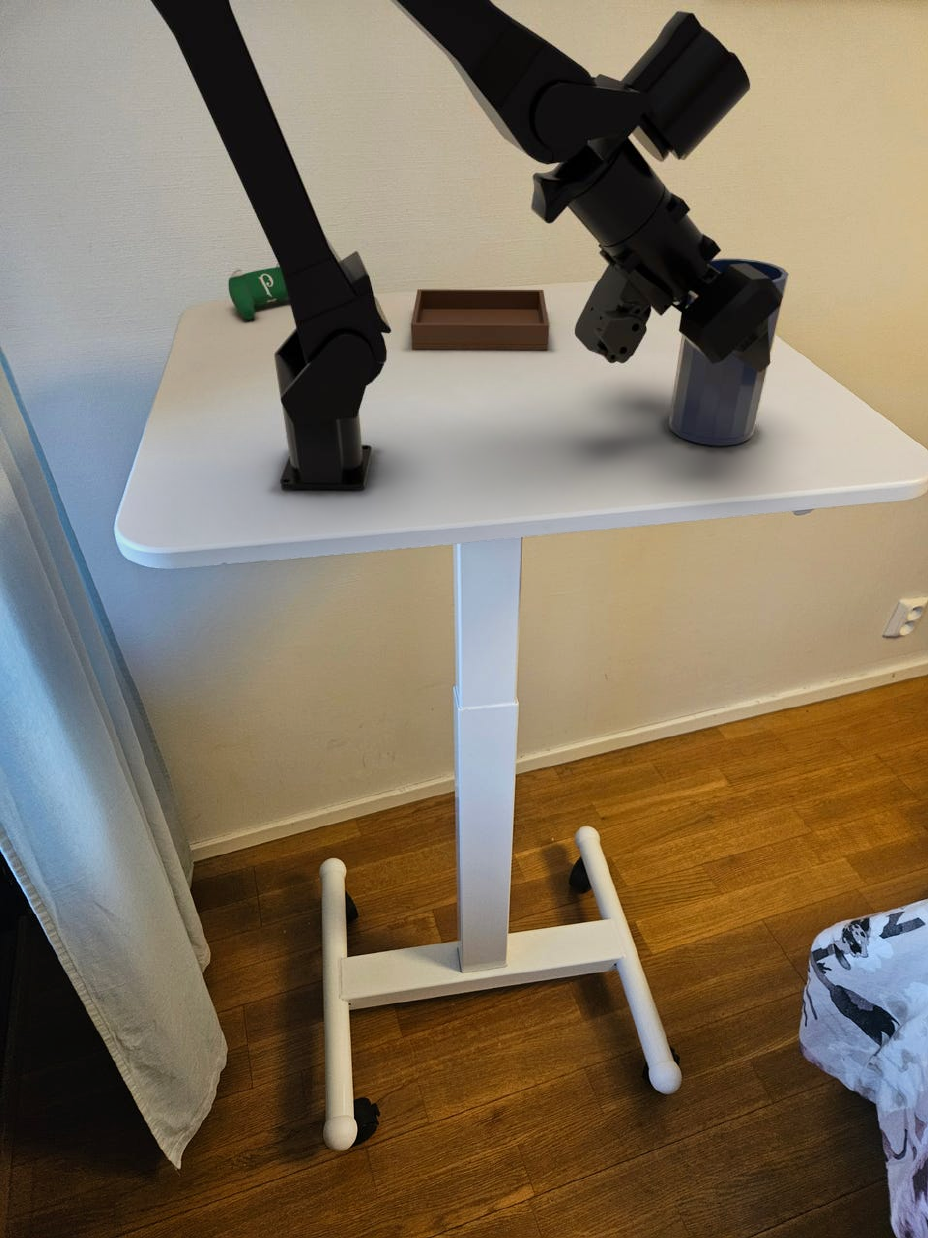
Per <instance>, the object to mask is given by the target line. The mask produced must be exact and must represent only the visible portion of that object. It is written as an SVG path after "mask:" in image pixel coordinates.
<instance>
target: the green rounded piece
mask: <svg viewBox="0 0 928 1238" xmlns="http://www.w3.org/2000/svg"><path fill="white" fill-rule="evenodd" d="M228 294H229V296H230V299H231V302H232V303H233V306H234V307H235V309H236V310H237V312H238V313H239V314H240V315H241V316H242V317H243V318H244V319H245V320H248V321H250V320H252V319H255V315H256V314H255V313H256V310H255V308H259V307H261V306H262V305H263V304H268V303H273V302H276V303H282V302H285V300H286V299H289V298H288V294H287V290H286V286H285V283H284V279H283V275H282V271H281V268H280V266H279V263H278V262H277V263H276V265H275V267H270V268H269V267H268V268H265V269H259V270H254V271H249V272H246V273H243V272H242V269H241V268H239V267H238V268H235V269H234V271H232V273H231V275H230V276H229V278H228Z"/></svg>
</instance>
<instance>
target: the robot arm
mask: <svg viewBox="0 0 928 1238" xmlns="http://www.w3.org/2000/svg"><path fill="white" fill-rule="evenodd" d="M150 2H151V3H152V5H153V6H154V8H155V9H156V11H157V12H158V14H159V15H160V16H161V18H162V20H163V21H164V22H165V24H166V25H167V27H168V28H169V30H170V31H171V33H172V35H173V37H174V39H175V40H176V41H175V42H176V43H177V46H178V47H179V49H180V53H181V54H182V56H183V59H184V60H185V63H186V65H187V66H188V69H189V71H190V73H191V76H192V78H193V80H194V82H195V85H196V86H197V89H198V90H199V93H200V96H201V97H202V100H203V102H204V104H205V106H206V108H207V110H208V113H209V115H210V118H211V119H212V122H213V124H214V126H215V128H216V131H217V132H218V134H219V137H220V139H221V141H222V143H223V146H224V147H225V150H226V152H227V154H228V156H229V159H230V161H231V163H232V165H233V168H234V170H235V172H236V174H237V176H238V178H239V181H240V183H241V185H242V187H243V189H244V192H245V194H246V196H247V198H248V200H249V202H250V204H251V206H252V209H253V211H254V214H255V215H256V218H257V220H258V223H259V224H260V226H261V228H262V231H263V233H264V235H265V237H266V239H267V242H268V244H269V246H270V248H271V250H272V253H273V254H274V257H275V259H276V261H277V263H279V266H280V268H281V271H282V275H283V279H284V283H285V286H286V290H287V294H288V298H287V299H288V301H289V306H290V309H291V313H292V317H293V321H294V324H295V329H293V331H292V332H291V333H290V335H289V336H288V337H286V339H285V340H284V341H283V343H282V344H281V345H280V346H279V347H278V349H277V350H276V351H275V352H274V356H273V358H274V364H275V371H276V377H277V378H276V379H277V385H278V390H279V398H280V403H281V406H282V407H281V408H282V414H283V420H284V421H283V422H284V429H285V433H286V441H287V448H288V455H289V456H288V458H287V462H286V464H285V467H284V470H283V473H282V475H281V477H280V480H279V484H280V488H282V489H285V490H363V489H364V488H365V487H366V484H367V478H368V473H369V469H370V464H371V460H372V455H373V446H371V445H370V444H363V439H362V428H361V417H360V409H361V405H362V402H363V399H364V395H365V392H366V388H367V386H369V385H370V384H372V383H373V382H374V381H375V380H376V379H377V377H379V375H380V374H381V372H382V370H383V368H384V365H385V363H387V358H388V357H387V356H388V349H387V346H386V341H385V338H384V335H383V334H391V332H392V329H391V326H390V324H389V321H388V320H387V318H386V315H385V313H384V310H383V309H382V306H381V304H380V302H379V300H378V298H377V297H376V296H375V294H374V289H373V285H372V281H371V276H370V275H369V272H368V270H367V268H366V266H365V264H364V261H363V260H362V257H361V255H360V253H359V251H358V250H357V251H356V250H355V251H353V252H352V253H350V254H349V255H348V256H346V257H344V258H343V259H342V258H341V257H340V255H339V253H338V252H337V251H336V250H335V248H334V247H333V245H332V243H331V242H330V241H329V239H328V238H327V236H326V234H325V231H324V229H323V227H322V224H321V223H320V220H319V217H318V215H317V212H316V209H315V208H314V205H313V203H312V201H311V198H310V195H309V193H308V191H307V187H306V185H305V183H304V181H303V179H302V176H301V174H300V171H299V169H298V166H297V164H296V161H295V159H294V157H293V155H292V152H291V150H290V146H289V145H288V144H289V143H288V142H287V139H286V138H285V134H284V132H283V130H282V128H281V124H280V123H279V121H278V118H277V116H276V113H275V111H274V107H273V106H272V104H271V101H270V98H269V96H268V93H267V91H266V88H265V86H264V84H263V81H262V79H261V77H260V74H259V72H258V69H257V68H256V65H255V62H254V59H253V57H252V55H251V53H250V50H249V47H248V45H247V42H246V40H245V37H244V35H243V33H242V30H241V28H240V25H239V23H238V21H237V19H236V15H235V14H234V12H233V11H234V10H233V9H232V6H231V1H230V0H150ZM390 2H391V3H392V4H394V6H395V7H396V8H398V9H399V11H400V12H402V13H403V15H404V16H405V17H407V19H409V20H410V22H412V24H414V25H415V26H416V28H418V29H419V30H420V31H421V33H423V34H424V35H425V36H426V37H427V38H428V39H429V40H430V41H431V42H432V43H433V44H434V45H435V46H436V47H437V48H438V49H439V50H440V51H441V52H442V53H443V54H444V55H445V56H446V57H447V59H448V60H449V61H450V63H451V64H452V66H453V67H454V69H455V70H456V71H457V73H458V74H459V76H460V78H461V79H462V81H463V82H464V84H465V85H466V87H467V89H468V91H469V93H470V94H471V95H472V97H473V98H474V99H475V101H476V102H477V104H478V106H479V107H480V108H481V109H482V111H483V112H484V114H485V115H486V117H487V118H488V119H489V121H490V122H491V123H492V125H493V126H494V127H495V129H496V130H497V132H498V133H499V134H500V135H501V137H502V138H503V139H504V140H505V141H507V142H508V143H510V144H511V145H513V146H514V147H515V148H517V149H519V150H520V152H522V153H524V154H525V155H527V156H528V157H530V158H531V159H533V160H534V161H536V162H537V163H540V164H544V165H546V166H548V165H554V164H557V165H556V166H555V167H554V168H553V169H552V170H550V171H547V172H535V173H533V175H532V182H533V191H532V192H533V193H532V199H531V205H530V209H531V211H532V212H533V213H534V214H536V216H538V217H539V218H540V219H541V220H543V222H545V223H546V224H549V225H551V224H553V223H554V222H556V221H557V219H558V217H559V216H560V215H562V213H563V212H564V211H565V210H566V209H567V208H568V210H570V211H571V213H573V215H574V216H575V217H576V218H577V219H578V221H579V222H580V223H581V224H582V226H583V227H585V229H586V230H587V231H588V232H589V233H590V234H591V236H592V237H593V238H594V239H595V240H596V241H597V243H598V245H597V246H598V247H599V248H600V250H599V252H598V254H599V255H600V256H601V257H602V258H603V259H604V261H605V262H606V263H607V264H608V265H607V267H606V268H605V270H604V272H603V273H602V275H601V277H600V278H599V279H598V281H596V283H595V285H594V286H593V289H592V291H591V293H590V295H589V297H588V298H587V301H586V303H585V304H584V307H583V309H582V311H581V313H580V315H579V316H578V319H577V321H576V323H575V327H574V335H575V337H576V338H577V339H578V340H579V342H580V343H581V344H582V345H583V347H585V348H586V349H587V350H588V351H589V352H592V353H595V354H596V355H600V356H602V357H604V359H605V360H606V361H607V362H608V363H610V364H615V363H619V364H625V363H627V362H628V361H629V360H630V358H631V357H633V356H634V355H635V354H636V352H637V350H638V348H639V347H640V344H641V342H642V340H643V339H644V336H645V335H646V333H647V330H648V327H647V323H648V321H649V319H650V317H651V313H652V309H653V310H654V312H656V314H658V315H659V316H660V317H662V316H663V315H664V314H665V313H666V312H668V310H669V309H670V308H671V307H673V308H674V309H676V310H677V311H678V312H680V321H679V326H678V332H679V333H680V334H681V336H682V335H683V336H684V337H685V339H686V340H687V341H688V342H689V343H690V344H691V345H692V346H693V347H694V348H695V349H696V350H697V351H698V352H699V353H700V354H702V355H703V356H704V357H705V358H706V359H707V360H709V361H710V362H711V363H712V364H714V363H718V362H721V361H723V360H724V359H725V358H726V357H727V356H728V355H729V354H730V353H732V354H733V355H734V356H736V357H737V358H739V359H740V360H742V361H743V362H744V363H746V364H747V365H749V366H750V367H751V368H753V369H754V370H756V371H757V372H759V373H760V372H762V371H763V370H764V369H765V368H767V367H768V368H769V366H770V364H771V357H770V347H769V332H768V317H769V316H770V315H771V314H772V313H773V312H774V311H775V310H776V309H777V308H778V307H779V306H780V305H781V302H782V299H783V300H784V298H783V295H782V294H781V292H780V291H779V290H778V288H777V287H776V285H775V284H774V283H773V281H772V280H771V279H770V278H769V277H768V276H766V275H764V274H763V273H761V272H760V271H758V270H756V269H755V268H753V267H752V266H750V265H748V264H747V263H744V264H732V265H729V266H728V267H727V268H726V269H725V270H724V271H723V272H722V273H720V272H719V271H717V270H716V269H714V268H713V267H711V266H710V265H708V263H709V262H710V261H711V260H712V259H715V257H716V256H717V255H719V253H721V251H722V249H721V247H720V246H719V244H717V242H716V241H715V240H714V239H713V238H711V237H709V236H708V235H706V234H704V233H703V232H701V230H700V229H699V228H698V226H697V225H696V223H694V222H693V220H692V219H691V217H690V216H689V215H688V213H689V212H690V211H691V210H692V209H691V208H690V207H689V205H688V204H687V203H686V201H685V200H684V198H682V197H680V196H678V195H676V194H674V192H672V191H670V190H669V189H668V187H667V186H666V184H665V183H664V182H663V181H662V179H661V178H660V177H659V175H658V174H657V173H656V171H655V170H654V168H652V166H651V165H650V163H649V162H648V161H647V160H646V159H645V157H644V156H643V154H642V153H641V151H639V149H638V148H637V147H636V145H635V144H634V143H633V141H632V140H631V139H630V136H631V135H633V136H634V138H635V139H636V140H637V142H638V143H639V144H640V145H641V146H642V147H643V149H645V151H646V152H647V153H649V154H650V155H651V157H653V158H654V159H655V160H657V161H659V162H661V163H663V162H665V160H666V159H667V158H668V157H669V155H670V154H671V155H672V156H673V157H674V158H675V159H677V161H681V160H682V161H685V160H686V159H687V158H688V157H689V156H690V155H691V154H692V153H693V152H694V151H695V149H697V147H698V146H699V145H700V144H701V143H702V142H703V141H704V140H705V138H706V137H708V136H709V135H710V134H711V132H712V131H713V130H714V129H715V128H716V127H717V126H718V125H719V124H720V123H721V121H722V120H723V119H725V117H726V116H727V115H728V114H729V113H730V112H731V111H732V109H733V108H734V107H735V106H737V104H738V103H739V102H740V101H741V99H743V97H745V95H747V93H748V92H749V91H750V90H751V81H750V78H749V75H748V73H747V71H746V69H745V67H744V65H743V63H742V62H741V60H740V59H739V57H738V55H736V53H734V52H733V51H729V50H728V49H727V47H725V45H724V44H723V43H722V41H720V40H719V39H718V38H717V37H716V36H715V35H714V34H713V33H712V32H710V31H709V30H708V29H707V28H706V27H704V26H703V25H701V23H700V20H698V18H697V16H696V15H695V13H694V12H688V11H682V10H677V11H676V12H675V13H674V14H673V15H672V16H671V18H670V19H669V20H668V21H667V22H666V23H665V25H664V26H663V28H662V29H661V31H660V33H659V35H658V36H657V38H656V39H655V41H654V42H653V43H652V44H651V45H650V46H649V47H648V49H647V50H646V51H645V52H644V53H643V54H642V56H641V57H640V58H639V59H638V61H636V62H635V64H634V65H633V66H632V68H631V69H630V70H629V71H628V72H627V73H626V74H625V75H624V76H623V78H622V79H621V80H618V79H616V78H613V77H610V76H607V75H604V74H602V73H599V74H597V76H592V75H591V73H590V72H589V71H588V70H587V69H586V68H585V67H583V65H581V64H579V63H578V62H577V61H576V60H574V59H573V58H571V57H570V56H569V55H568V54H566V53H565V52H563V51H562V50H560V49H559V48H557V47H556V46H555V45H554V44H552V43H550V42H549V41H548V40H546V39H545V38H543V37H542V36H541V35H539V34H538V33H536V32H534V31H533V30H532V29H530V28H528V26H525V25H524V24H522V23H521V22H519V21H518V20H516V19H515V18H514V17H512V16H510V15H509V14H508V13H506V12H504V10H503V9H500V8H499V7H498V6H497V5H495V4H494V2H493V1H492V0H390ZM702 279H703V280H704V281H705V282H704V281H703V280H702ZM706 282H707V283H709V284H710V285H709V284H707V283H706ZM688 293H689V294H690V295H691V296H693V297H694V298H695V300H694V301H693V302H692V303H691V304H690V305H689V306H688V307H687V308H686V304H687V298H688ZM782 303H783V302H782Z"/></svg>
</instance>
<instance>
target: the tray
mask: <svg viewBox="0 0 928 1238" xmlns="http://www.w3.org/2000/svg"><path fill="white" fill-rule="evenodd" d="M413 306H414V307H413V311H412V317H411V323H410V335H411V336H410V337H411V338H410V339H411V350H446V351H447V350H450V351H451V350H452V351H453V350H457V351H459V350H462V351H463V350H464V351H465V350H470V351H472V350H473V351H548V350H549V349H548V348H549V336H550V335H549V334H550V333H549V332H550V323H549V316H548V309H547V305H546V298H545V292H544V289H447V288H446V289H443V288H442V289H436V288H435V289H433V288H432V289H431V288H430V289H428V288H420V289H419V288H418V289H417V290H416V296H415V301H414V305H413Z"/></svg>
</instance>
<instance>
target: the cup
mask: <svg viewBox="0 0 928 1238" xmlns="http://www.w3.org/2000/svg"><path fill="white" fill-rule="evenodd" d="M744 263H747V264H748V265H750V266H752V267H753V268H755V269H756V270H758V271H760V272H761V273H763V274H764V275H766V276H768V277H769V278H770V279H771V280H772V281H773V283H774V284H775V285H776V287H777V288H778V290H779V291H780V292H781V294H782V295H783V299H782V302H781V305H780V306H779V307H778V308H777V309H776V310H775V311H774V312H773V313H772V314H771V315H770V316H769V317H768V332H769V347H770V358H771V356H772V353H773V352H772V351H773V348H774V343H775V338H776V333H777V329H778V325H779V320H780V315H781V312H782V307H783V301H784V297H785V293H786V290H787V289H786V288H787V283H788V278H789V275H790V274H789V272H788V271H787V270H786V269H785V268H783V267H781V266H779V265H777V264H773V263H770V262H765V261H761V260H757V259H756V260H755V259H747V258H722V257H721V258H713V259H712V260H711V261H710V262H709V263H708V265H710V266H711V267H713V268H714V269H716V270H717V271H719V272H720V273H722V272H723V271H724V270H725V269H726V268H727V267H728V266H729V265H732V264H744ZM702 280H703V279H702ZM703 281H704V280H703ZM704 282H705V281H704ZM706 283H707V282H706ZM707 284H709V283H707ZM709 285H710V284H709ZM694 300H695V298H694V297H693V296H691V295H690V294H689V293H688V298H687V304H686V308H687V307H688V306H689V305H690V304H691V303H692V302H693V301H694ZM680 337H681V338H680V344H679V350H678V358H677V364H676V370H675V377H674V382H673V383H674V384H673V390H672V396H671V403H670V410H669V416H668V418H669V420H668V426H669V428H670V430H671V432H672V433H674V435H676V436H678V437H680V438H682V439H684V440H686V441H688V442H689V441H690V442H692V443H696V444H701V445H707V446H731V445H737V444H742V443H744V442H747V441H748V440H749V439H751V438H752V437H753V434H754V431H755V427H756V424H757V419H758V415H759V410H760V407H761V402H762V397H763V393H764V389H765V388H764V387H765V384H766V379H767V375H768V370H769V366H768V367H767V368H765V369H764V370H763V371H762V372H760V373H759V372H757V371H756V370H754V369H753V368H751V367H750V366H749V365H747V364H746V363H744V362H743V361H742V360H740V359H739V358H737V357H736V356H734V355H733V354H732V353H730V354H729V355H728V356H727V357H726V358H725V359H724V360H723V361H721V362H718V363H714V364H712V363H711V362H710V361H709V360H707V359H706V358H705V357H704V356H703V355H702V354H700V353H699V352H698V351H697V350H696V349H695V348H694V347H693V346H692V345H691V344H690V343H689V342H688V341H687V340H686V339H685V337H684V336H683V335H682V334H681V336H680Z"/></svg>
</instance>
